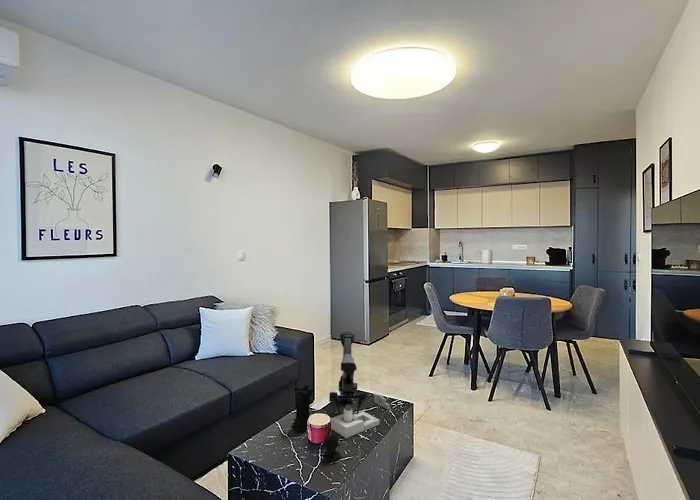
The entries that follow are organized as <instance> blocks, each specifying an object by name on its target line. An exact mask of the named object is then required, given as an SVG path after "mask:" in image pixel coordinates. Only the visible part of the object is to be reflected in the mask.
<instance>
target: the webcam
mask: <svg viewBox="0 0 700 500" xmlns="http://www.w3.org/2000/svg"><path fill="white" fill-rule="evenodd" d="M339 440H340V438H339V434H338V433H337V432H332V433H330V434H329V435H326V436H325V438H324V440H323V446H325V451H324V452H323V455H322V456H323V459H324V461H327V462H334V463H335V462H337V461H339V460H340V459H341V457H342V456H341V452H340V451H338V450H337V448H338V447H340V446H341V444H339V443H340V441H339ZM331 456H332V457H331Z"/></svg>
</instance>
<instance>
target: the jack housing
mask: <svg viewBox="0 0 700 500" xmlns="http://www.w3.org/2000/svg"><path fill="white" fill-rule="evenodd" d="M330 421H331V429H330V430H332V431H334V433H336V434H337V435H340V436H342V437H344V438H345V439H348V438H350V437H353V436H356V435H358V434H360V433H362V432H365V431H367V430H370V429H372V428H374V427H377V426H379V425H380V422H381V421H380V419H379V418H376V417H375V416H373V415H371V414H369V413H367V412H365V411H359V413H358V415H357V413H356V414H355V413H354V414H352V422H350V423H346V422H344V413H341V414H339V415H336V416H334V417H331V418H330Z"/></svg>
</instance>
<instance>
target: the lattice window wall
mask: <svg viewBox="0 0 700 500" xmlns="http://www.w3.org/2000/svg"><path fill="white" fill-rule="evenodd" d="M373 396H374V398H373V399H374V401H373V402H374V403H375V404H377V405H378V406H380V407H382V408H383V409H386V410H389V409H390V405H391V403H388V402H387V398H385V397H384V396H383V394H380V393H379V394H378V393H377V392H374V393H373Z"/></svg>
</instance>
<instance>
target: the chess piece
mask: <svg viewBox="0 0 700 500" xmlns="http://www.w3.org/2000/svg"><path fill="white" fill-rule="evenodd" d="M293 390H294V395H295V396H296V397H295V401H296V409H295V412H296V413H295V418H294V419H293V422H292V425H291V429H293V430H294V432H295V433H296V434H297V435H300V433H302V434H304V432H306V429H307V420H308V418H309V419H310V403H311V402H312V400H311V397H312V396H313V392H314V389H313V388H309V384H304V385H303V387H301V388H299V387H298V386H297V385H296V386H293ZM306 433H307V432H306Z"/></svg>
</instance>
